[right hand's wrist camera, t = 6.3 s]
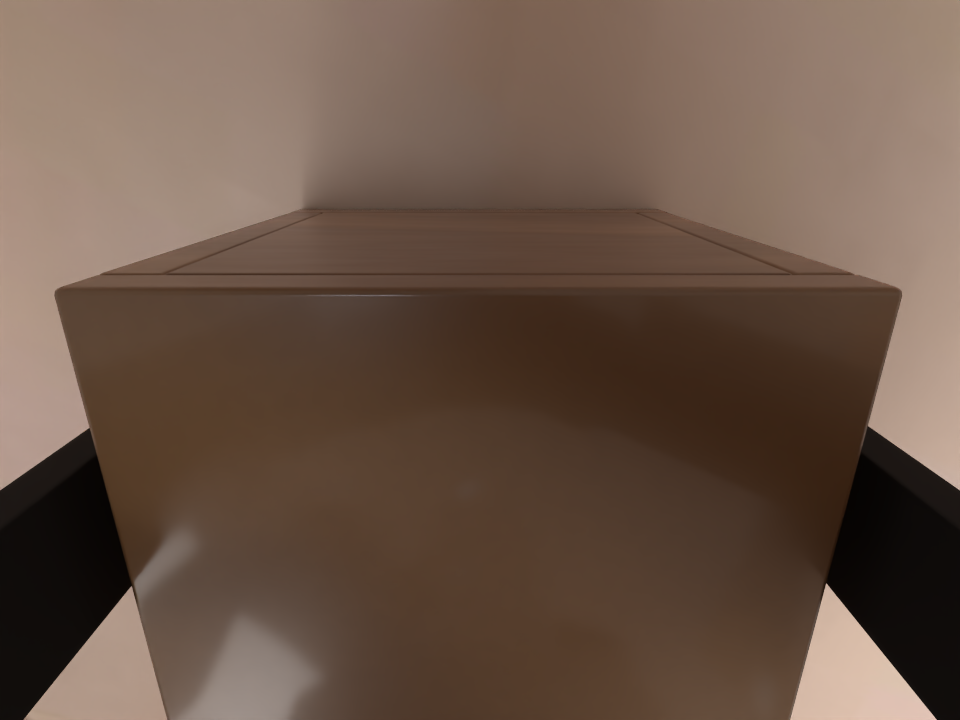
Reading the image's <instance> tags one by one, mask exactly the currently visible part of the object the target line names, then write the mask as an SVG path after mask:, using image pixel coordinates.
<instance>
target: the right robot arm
mask: <svg viewBox="0 0 960 720" xmlns="http://www.w3.org/2000/svg"><path fill="white" fill-rule="evenodd" d="M826 583H827V584H828V586H829V587H830V588H831V589H832V591H833V592H834V593H835V594H836V596H837V597H838V598H839V599H840V600H841V602H842V603H843V604H844V605H845V607H846V608H847V609H848V610H849V612H850V613H851V614H852V615H853V617H854V618H855V619H856V620H857V621H858V623H859V624H860V625H861V626H862V628H863V629H864V630H865V631H866V633H867V634H868V635H869V636H870V638H871V639H872V640H873V641H874V643H875V644H876V645H877V646H878V647H879V649H880V650H881V651H882V652H883V654H884V655H885V656H886V657H887V659H888V660H889V661H890V662H891V664H892V665H893V666H894V667H895V668H896V670H897V671H898V672H899V673H900V675H901V676H902V677H903V678H904V680H905V681H906V682H907V683H908V685H909V686H910V687H911V688H912V690H913V691H914V692H915V693H916V694H917V696H918V697H919V698H920V699H921V701H922V702H923V703H924V704H925V706H926V707H927V708H928V709H929V711H930V712H931V713H932V714H933V715H934V717H935V718H936V719H937V720H960V490H958V489H957V488H955V487H954V486H953V485H951V484H950V483H948V482H947V481H945V480H944V479H943V478H941V477H940V476H938V475H937V474H935V473H934V472H933V471H931V470H930V469H928V468H927V467H925V466H924V465H923V464H921V463H920V462H918V461H917V460H915V459H914V458H913V457H911V456H910V455H908V454H907V453H905V452H904V451H903V450H901V449H900V448H898V447H897V446H895V445H894V444H893V443H891V442H890V441H888V440H887V439H885V438H884V437H883V436H881V435H880V434H878V433H877V432H875V431H874V430H873V429H871V428H870V427H868V426H867V430H866V434H865V438H864V442H863V445H862V449H861V453H860V457H859V460H858V464H857V468H856V472H855V476H854V479H853V483H852V487H851V491H850V495H849V498H848V502H847V506H846V510H845V513H844V517H843V521H842V525H841V529H840V532H839V536H838V540H837V544H836V547H835V551H834V555H833V559H832V563H831V566H830V570H829V574H828V578H827V582H826ZM131 586H132V585H131V581H130V577H129V573H128V570H127V566H126V562H125V558H124V555H123V551H122V547H121V543H120V540H119V536H118V532H117V528H116V525H115V521H114V517H113V513H112V510H111V506H110V502H109V498H108V495H107V491H106V487H105V483H104V479H103V476H102V472H101V468H100V464H99V461H98V457H97V453H96V449H95V446H94V442H93V438H92V434H91V431H90V428H89V429H87V430H86V431H85V432H83V433H82V434H80V435H79V436H77V437H76V438H75V439H73V440H72V441H70V442H69V443H67V444H66V445H65V446H63V447H62V448H60V449H59V450H57V451H56V452H55V453H53V454H52V455H50V456H49V457H47V458H46V459H45V460H43V461H42V462H40V463H39V464H37V465H36V466H35V467H33V468H32V469H30V470H29V471H27V472H26V473H25V474H23V475H22V476H20V477H19V478H17V479H16V480H15V481H13V482H12V483H10V484H9V485H7V486H6V487H5V488H3V489H2V490H0V720H23V719H24V718H25V717H26V716H27V714H28V713H29V712H30V711H31V709H32V708H33V707H34V706H35V704H36V703H37V702H38V701H39V699H40V698H41V697H42V696H43V694H44V693H45V692H46V691H47V690H48V688H49V687H50V686H51V685H52V683H53V682H54V681H55V680H56V678H57V677H58V676H59V675H60V673H61V672H62V671H63V670H64V669H65V667H66V666H67V665H68V664H69V662H70V661H71V660H72V659H73V657H74V656H75V655H76V654H77V652H78V651H79V650H80V649H81V647H82V646H83V645H84V644H85V643H86V641H87V640H88V639H89V638H90V636H91V635H92V634H93V633H94V631H95V630H96V629H97V628H98V626H99V625H100V624H101V623H102V622H103V620H104V619H105V618H106V617H107V615H108V614H109V613H110V612H111V610H112V609H113V608H114V607H115V605H116V604H117V603H118V602H119V600H120V599H121V598H122V597H123V596H124V594H125V593H126V592H127V591H128V589H129V588H130V587H131Z"/></svg>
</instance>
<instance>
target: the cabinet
mask: <svg viewBox="0 0 960 720" xmlns="http://www.w3.org/2000/svg"><path fill="white" fill-rule="evenodd" d="M901 298H902V291H901V290H900V289H899V288H896V287H894V286H891V285H888V284H885V283H882V282H878V281H875V280H872V279H869V278H866V277H863V276H860V275H855V274H853V273H850V272H848V271H844V270H841V269H838V268H835V267H832V266H829V265H826V264H823V263H820V262H817V261H814V260H811V259H807V258H804V257H801V256H798V255H795V254H792V253H789V252H786V251H783V250H780V249H777V248H773V247H770V246H767V245H764V244H761V243H758V242H755V241H752V240H749V239H746V238H743V237H740V236H736V235H733V234H730V233H727V232H724V231H721V230H718V229H715V228H712V227H709V226H706V225H703V224H699V223H696V222H693V221H690V220H687V219H684V218H681V217H678V216H675V215H672V214H669V213H667V212H664V211H661V210H658V209H414V210H412V209H411V210H297V211H294V212H291V213H289V214H285V215H282V216H279V217H276V218H273V219H270V220H267V221H264V222H260V223H257V224H254V225H251V226H248V227H245V228H242V229H239V230H235V231H232V232H229V233H226V234H223V235H220V236H217V237H214V238H210V239H207V240H204V241H201V242H198V243H195V244H192V245H189V246H185V247H182V248H179V249H176V250H173V251H170V252H167V253H164V254H160V255H157V256H154V257H151V258H148V259H145V260H142V261H139V262H135V263H132V264H129V265H126V266H123V267H120V268H117V269H114V270H110V271H107V272H104V273H102V274H100V275H97V276H94V277H91V278H88V279H85V280H82V281H78V282H75V283H72V284H69V285H66V286H63V287H60V288H58V289H57V290H56V291H55V299H56V303H57V307H58V311H59V314H60V318H61V322H62V326H63V329H64V333H65V337H66V341H67V344H68V348H69V352H70V356H71V359H72V363H73V367H74V371H75V374H76V378H77V382H78V386H79V389H80V393H81V397H82V401H83V404H84V408H85V412H86V416H87V419H88V423H89V427H90V431H91V434H92V438H93V442H94V446H95V449H96V453H97V457H98V461H99V464H100V468H101V472H102V476H103V479H104V483H105V487H106V491H107V495H108V498H109V502H110V506H111V510H112V513H113V517H114V521H115V525H116V528H117V532H118V536H119V540H120V543H121V547H122V551H123V555H124V558H125V562H126V566H127V570H128V573H129V577H130V581H131V585H132V588H133V592H134V596H135V600H136V603H137V607H138V611H139V615H140V618H141V622H142V626H143V630H144V633H145V637H146V641H147V645H148V648H149V652H150V656H151V660H152V663H153V667H154V671H155V675H156V678H157V682H158V686H159V690H160V693H161V697H162V701H163V705H164V708H165V712H166V716H167V720H790V718H791V714H792V710H793V706H794V703H795V699H796V695H797V691H798V688H799V684H800V680H801V676H802V672H803V669H804V665H805V661H806V657H807V653H808V650H809V646H810V642H811V638H812V635H813V631H814V627H815V623H816V619H817V616H818V612H819V608H820V604H821V600H822V597H823V593H824V589H825V585H826V582H827V578H828V574H829V570H830V566H831V563H832V559H833V555H834V551H835V547H836V544H837V540H838V536H839V532H840V529H841V525H842V521H843V517H844V513H845V510H846V506H847V502H848V498H849V495H850V491H851V487H852V483H853V479H854V476H855V472H856V468H857V464H858V460H859V457H860V453H861V449H862V445H863V442H864V438H865V434H866V430H867V426H868V423H869V419H870V415H871V411H872V407H873V404H874V400H875V396H876V392H877V389H878V385H879V381H880V377H881V373H882V370H883V366H884V362H885V358H886V354H887V351H888V347H889V343H890V339H891V336H892V332H893V328H894V324H895V320H896V317H897V313H898V309H899V305H900V301H901Z"/></svg>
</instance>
